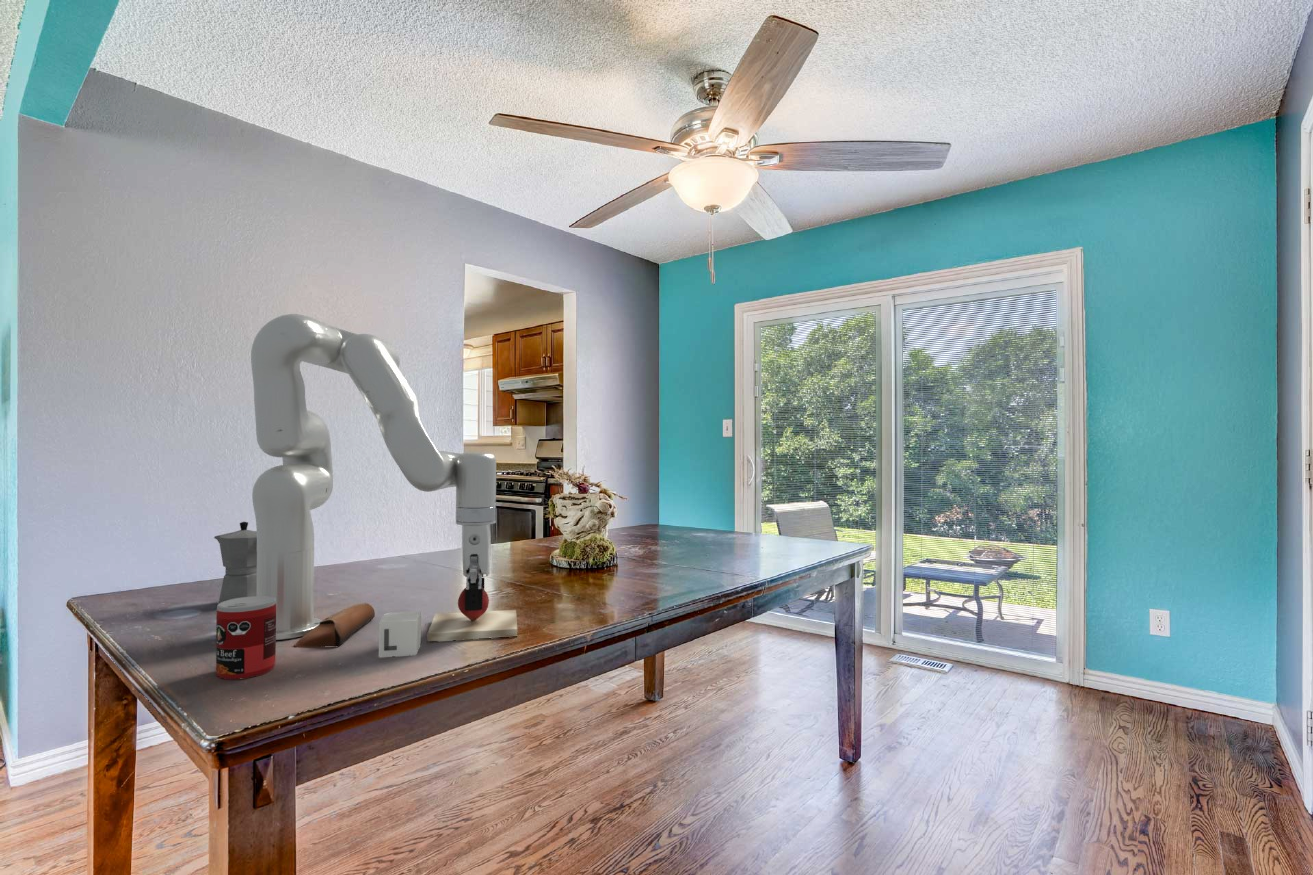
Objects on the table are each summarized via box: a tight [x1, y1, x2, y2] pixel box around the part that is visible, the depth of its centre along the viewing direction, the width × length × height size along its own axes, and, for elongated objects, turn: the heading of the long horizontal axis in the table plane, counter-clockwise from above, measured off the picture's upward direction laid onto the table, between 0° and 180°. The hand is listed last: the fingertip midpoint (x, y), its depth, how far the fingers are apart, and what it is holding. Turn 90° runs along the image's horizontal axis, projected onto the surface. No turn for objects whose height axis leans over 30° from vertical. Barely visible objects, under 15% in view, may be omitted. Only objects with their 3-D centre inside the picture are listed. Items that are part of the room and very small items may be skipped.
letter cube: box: [378, 611, 422, 658], centre depth 114 cm, size 6×6×6 cm
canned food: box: [215, 596, 277, 680], centre depth 103 cm, size 8×8×11 cm
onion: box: [457, 587, 490, 621], centre depth 127 cm, size 6×6×8 cm
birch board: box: [426, 609, 518, 642], centre depth 127 cm, size 16×14×2 cm
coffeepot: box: [213, 521, 257, 605], centre depth 145 cm, size 15×9×18 cm, turn 87°
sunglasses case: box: [293, 602, 376, 648], centre depth 124 cm, size 18×7×7 cm
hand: (474, 603), depth 127 cm, fingers open, 9 cm apart
